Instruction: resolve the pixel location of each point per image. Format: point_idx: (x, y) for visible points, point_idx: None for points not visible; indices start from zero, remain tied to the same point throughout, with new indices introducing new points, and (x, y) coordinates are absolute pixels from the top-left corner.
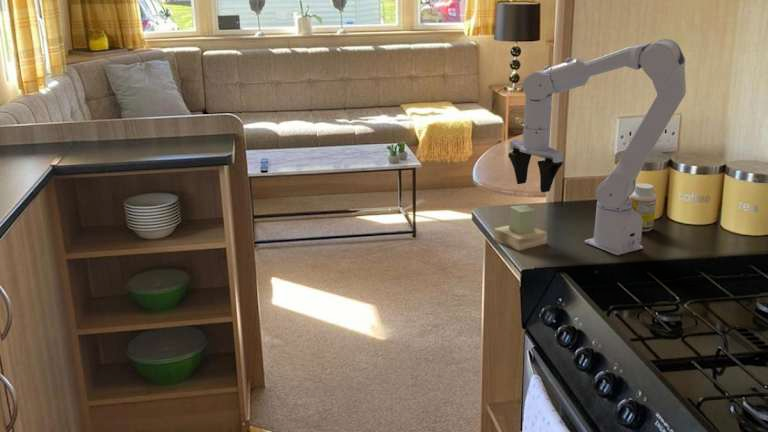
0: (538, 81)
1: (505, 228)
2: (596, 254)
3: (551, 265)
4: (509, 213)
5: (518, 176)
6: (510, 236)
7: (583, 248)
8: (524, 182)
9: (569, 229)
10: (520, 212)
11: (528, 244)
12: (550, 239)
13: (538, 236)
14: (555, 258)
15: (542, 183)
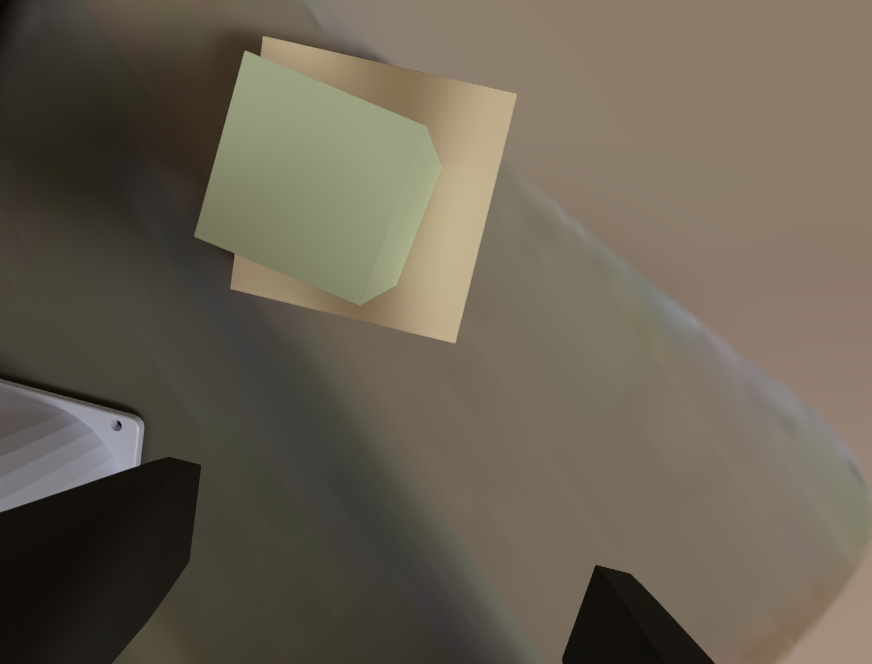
0: None
1: (459, 155)
2: (15, 319)
3: (39, 5)
4: (432, 144)
5: (647, 655)
6: (352, 60)
7: (103, 349)
8: (569, 650)
9: (311, 537)
10: (245, 57)
11: None
12: (286, 350)
13: None
14: (94, 118)
15: (48, 504)
